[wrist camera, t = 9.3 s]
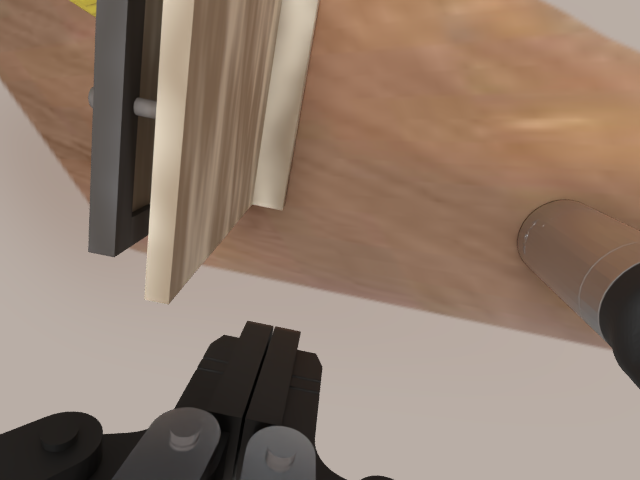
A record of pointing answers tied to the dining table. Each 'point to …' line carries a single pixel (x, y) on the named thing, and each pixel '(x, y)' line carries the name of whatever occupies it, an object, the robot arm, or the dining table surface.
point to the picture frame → (122, 122)
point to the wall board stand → (221, 124)
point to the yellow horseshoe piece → (87, 5)
